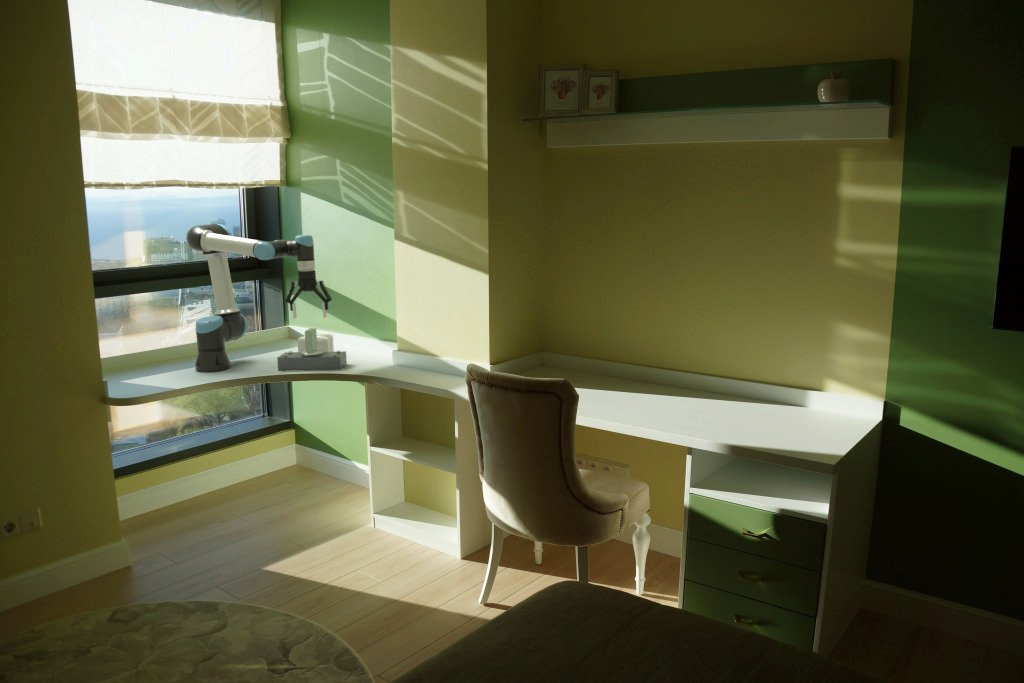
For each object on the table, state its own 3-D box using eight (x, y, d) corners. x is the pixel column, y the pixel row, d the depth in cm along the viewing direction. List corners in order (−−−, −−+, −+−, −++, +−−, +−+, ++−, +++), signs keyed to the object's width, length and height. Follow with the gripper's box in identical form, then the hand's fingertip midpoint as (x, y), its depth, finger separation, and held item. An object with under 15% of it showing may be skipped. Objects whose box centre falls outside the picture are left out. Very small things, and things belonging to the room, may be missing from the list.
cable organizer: (336, 357, 399) (334, 333, 397) (328, 361, 388) (327, 337, 386) (305, 357, 401) (304, 333, 398) (297, 361, 390) (296, 337, 388)
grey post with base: (299, 368, 371) (296, 331, 368) (305, 363, 380) (302, 328, 377) (320, 367, 371) (318, 331, 368) (326, 363, 380) (323, 327, 377)
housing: (278, 370, 370) (277, 355, 369) (286, 365, 382) (285, 350, 381) (340, 369, 369) (339, 354, 368) (346, 364, 381) (345, 349, 380)
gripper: (276, 271, 364) (279, 319, 368) (332, 270, 364) (335, 318, 367) (281, 270, 372) (284, 317, 376) (336, 268, 371) (339, 315, 375)
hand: (310, 317), depth 372 cm, fingers open, 13 cm apart
